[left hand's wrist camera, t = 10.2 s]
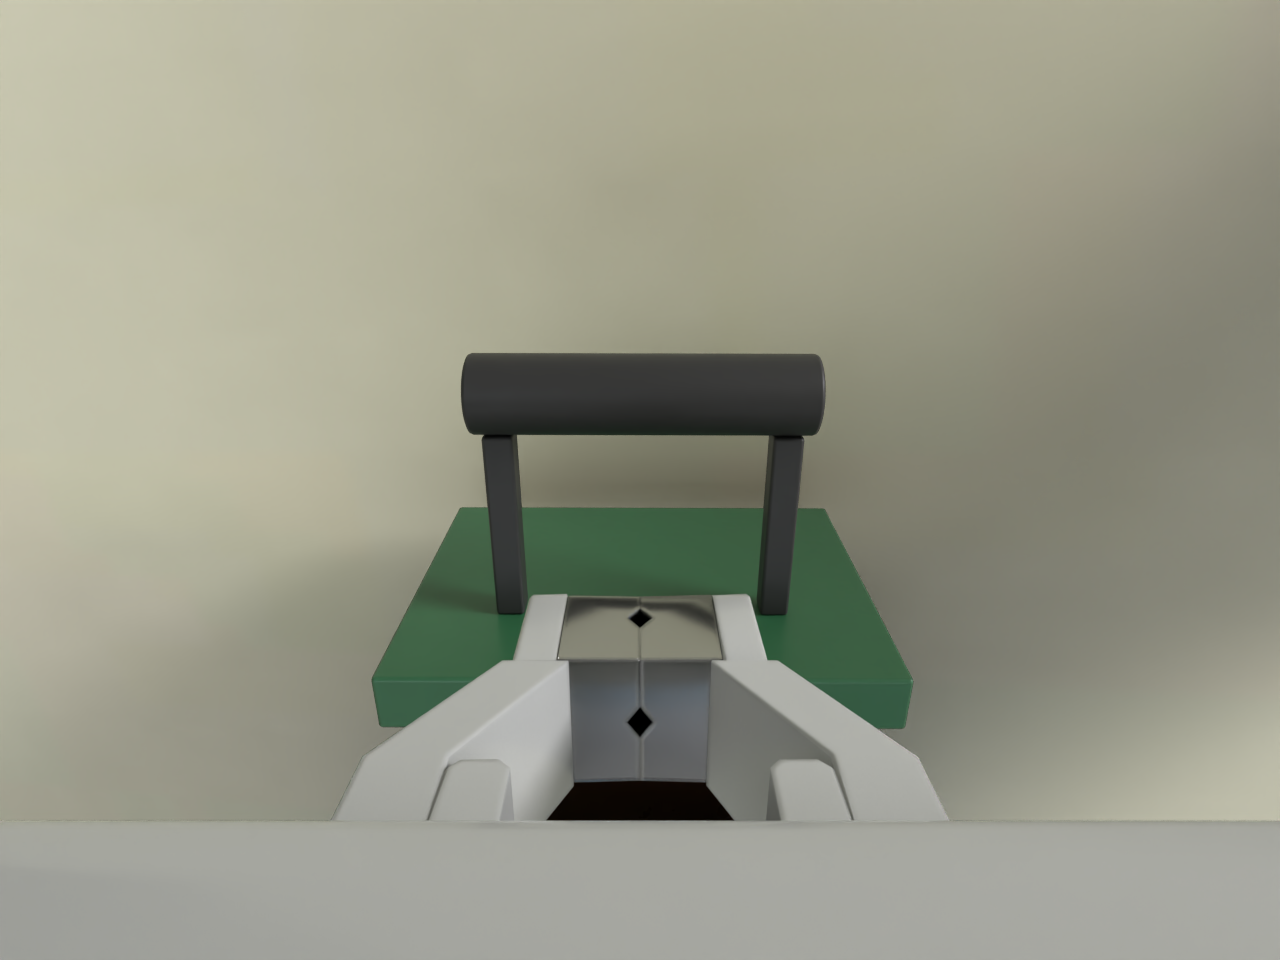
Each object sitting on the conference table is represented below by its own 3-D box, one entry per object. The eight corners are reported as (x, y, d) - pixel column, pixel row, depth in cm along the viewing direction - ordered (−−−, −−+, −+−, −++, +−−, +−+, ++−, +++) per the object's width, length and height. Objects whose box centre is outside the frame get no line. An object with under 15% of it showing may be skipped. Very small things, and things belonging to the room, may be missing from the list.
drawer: (438, 304, 18) (317, 391, 12) (848, 305, 18) (969, 392, 12) (495, 842, 26) (442, 1088, 19) (786, 843, 26) (838, 1090, 19)
